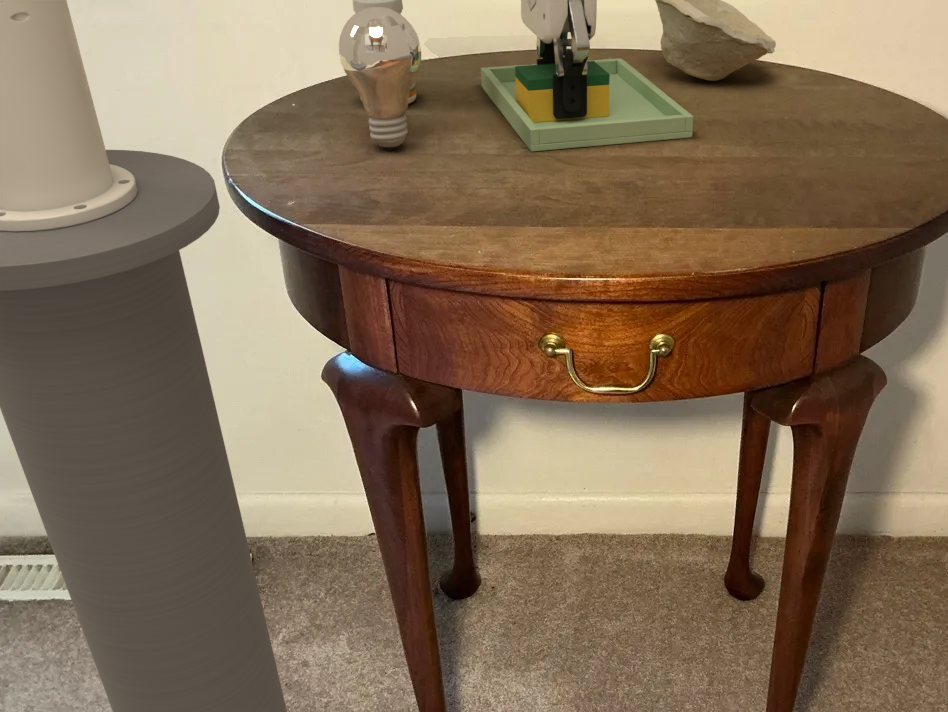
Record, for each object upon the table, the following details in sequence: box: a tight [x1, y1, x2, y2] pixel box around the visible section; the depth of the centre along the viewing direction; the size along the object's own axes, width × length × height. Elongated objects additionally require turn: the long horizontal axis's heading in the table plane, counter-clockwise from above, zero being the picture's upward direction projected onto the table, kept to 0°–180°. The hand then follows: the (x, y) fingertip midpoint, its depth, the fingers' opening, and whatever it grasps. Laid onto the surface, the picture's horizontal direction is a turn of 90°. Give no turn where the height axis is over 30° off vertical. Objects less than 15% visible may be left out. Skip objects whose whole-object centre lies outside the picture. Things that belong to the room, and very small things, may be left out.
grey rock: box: [654, 0, 777, 82], centre depth 113 cm, size 15×14×10 cm
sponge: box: [514, 60, 610, 123], centre depth 101 cm, size 8×5×4 cm, turn 108°
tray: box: [480, 57, 694, 153], centre depth 105 cm, size 16×22×2 cm
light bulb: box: [338, 7, 422, 151], centre depth 91 cm, size 7×7×12 cm
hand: (561, 106), depth 102 cm, fingers closed on sponge, 5 cm apart
